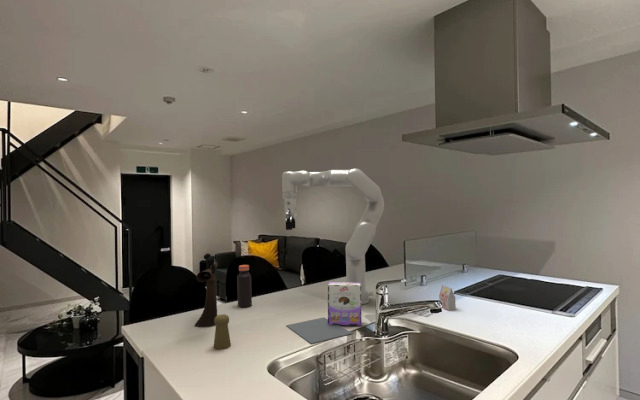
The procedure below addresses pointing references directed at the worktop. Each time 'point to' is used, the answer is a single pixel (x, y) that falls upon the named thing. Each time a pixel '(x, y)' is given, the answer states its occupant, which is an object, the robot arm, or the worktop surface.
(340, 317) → the candy box
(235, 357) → the worktop surface
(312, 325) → the mat
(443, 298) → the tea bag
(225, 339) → the olive game pawn
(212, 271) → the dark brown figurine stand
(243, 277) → the bottle
